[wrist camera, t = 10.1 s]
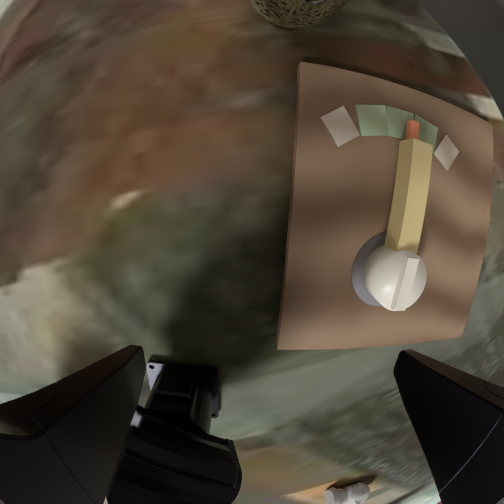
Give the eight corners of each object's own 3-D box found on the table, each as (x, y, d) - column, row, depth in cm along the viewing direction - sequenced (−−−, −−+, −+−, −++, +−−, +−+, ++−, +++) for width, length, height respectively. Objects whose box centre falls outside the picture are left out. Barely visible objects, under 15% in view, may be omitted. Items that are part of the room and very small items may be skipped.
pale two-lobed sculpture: (369, 476, 32) (352, 496, 32) (334, 474, 31) (316, 495, 30) (382, 489, 28) (363, 510, 27) (346, 490, 27) (326, 512, 26)
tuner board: (455, 331, 24) (462, 337, 23) (275, 342, 23) (277, 351, 22) (484, 125, 19) (493, 124, 17) (297, 67, 18) (300, 60, 16)
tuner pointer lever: (401, 298, 21) (420, 315, 18) (356, 295, 21) (372, 313, 18) (430, 131, 18) (454, 126, 15) (385, 114, 18) (407, 105, 14)
